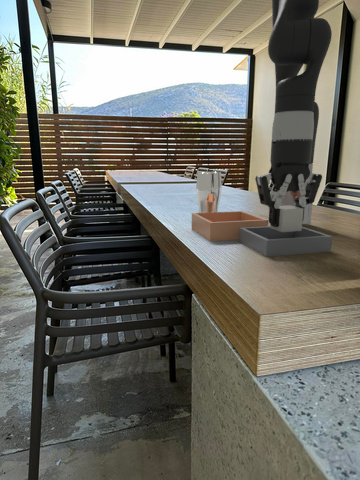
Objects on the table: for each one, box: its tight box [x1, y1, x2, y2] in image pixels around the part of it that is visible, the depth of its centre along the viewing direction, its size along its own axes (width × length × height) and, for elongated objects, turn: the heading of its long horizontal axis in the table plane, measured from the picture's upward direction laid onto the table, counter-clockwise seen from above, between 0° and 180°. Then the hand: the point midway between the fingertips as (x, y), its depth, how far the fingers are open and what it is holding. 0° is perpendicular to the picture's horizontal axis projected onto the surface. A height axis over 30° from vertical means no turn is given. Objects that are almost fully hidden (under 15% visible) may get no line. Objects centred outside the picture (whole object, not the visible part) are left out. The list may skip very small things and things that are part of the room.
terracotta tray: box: [191, 210, 269, 242], centre depth 81 cm, size 14×14×5 cm
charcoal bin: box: [238, 225, 333, 257], centre depth 69 cm, size 14×12×4 cm
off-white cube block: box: [269, 205, 303, 232], centre depth 68 cm, size 4×4×4 cm
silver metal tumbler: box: [195, 171, 222, 213], centre depth 93 cm, size 7×7×15 cm
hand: (285, 225), depth 68 cm, fingers closed on off-white cube block, 4 cm apart
